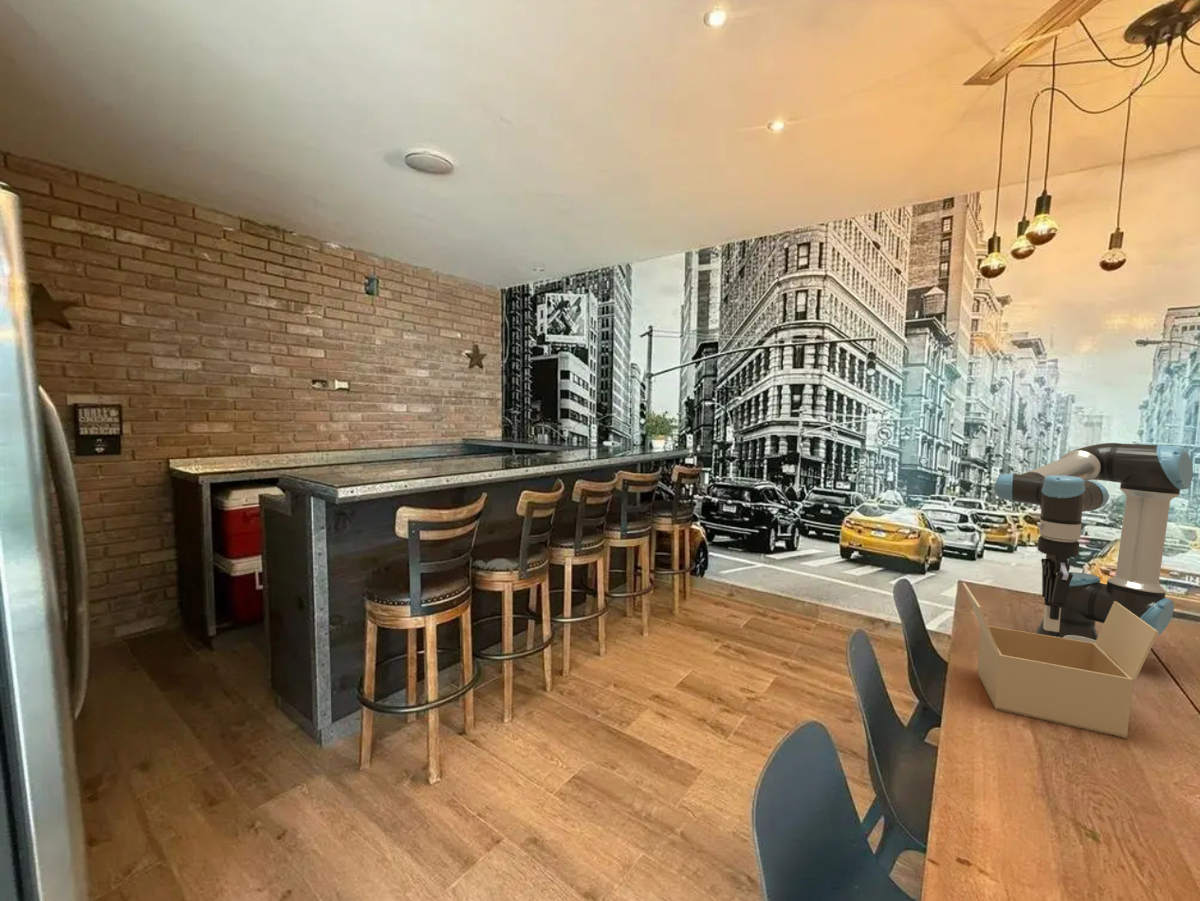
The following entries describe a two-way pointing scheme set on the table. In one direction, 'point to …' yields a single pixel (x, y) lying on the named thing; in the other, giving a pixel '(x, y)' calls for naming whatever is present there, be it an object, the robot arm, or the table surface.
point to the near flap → (1126, 639)
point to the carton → (1055, 680)
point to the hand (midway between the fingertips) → (1050, 629)
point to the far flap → (980, 618)
